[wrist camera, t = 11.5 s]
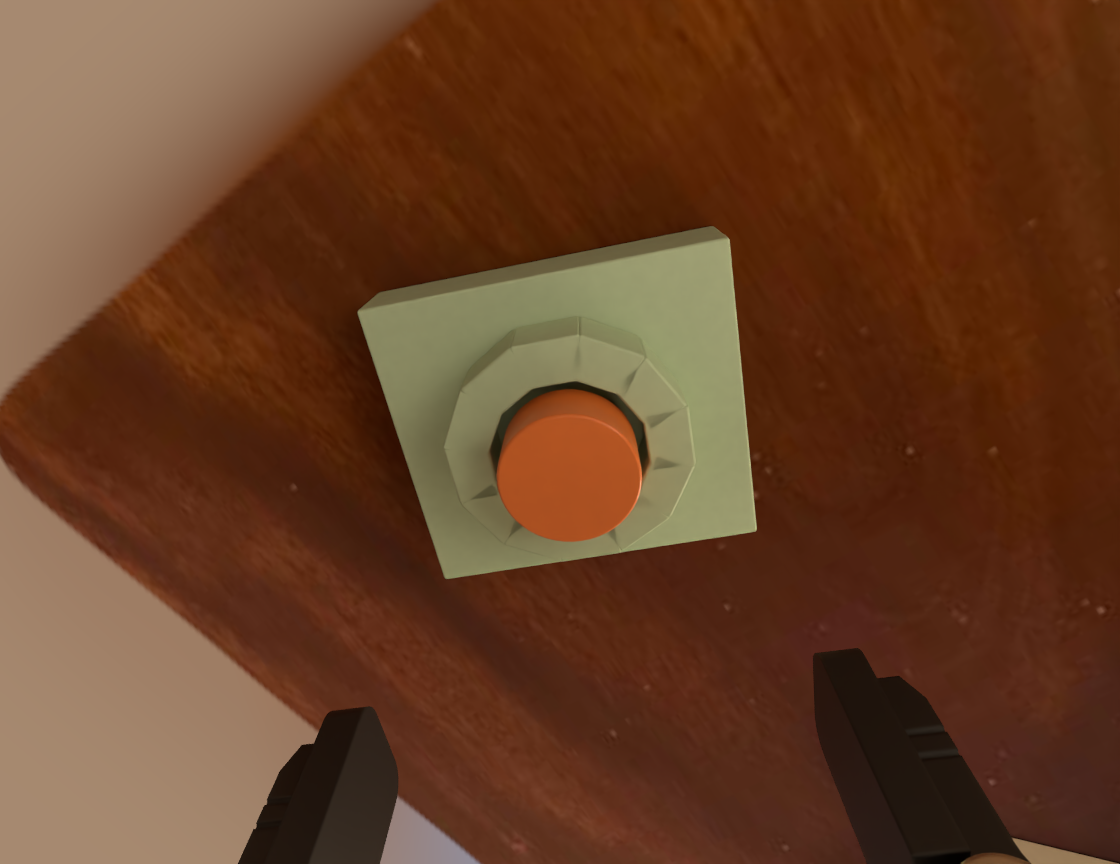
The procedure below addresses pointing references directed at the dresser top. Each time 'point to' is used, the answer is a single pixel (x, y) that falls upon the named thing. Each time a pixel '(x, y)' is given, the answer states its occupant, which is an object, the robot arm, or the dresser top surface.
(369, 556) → the dresser top surface
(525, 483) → the button
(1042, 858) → the bracket
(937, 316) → the dresser top surface
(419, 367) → the button block
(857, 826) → the robot arm
